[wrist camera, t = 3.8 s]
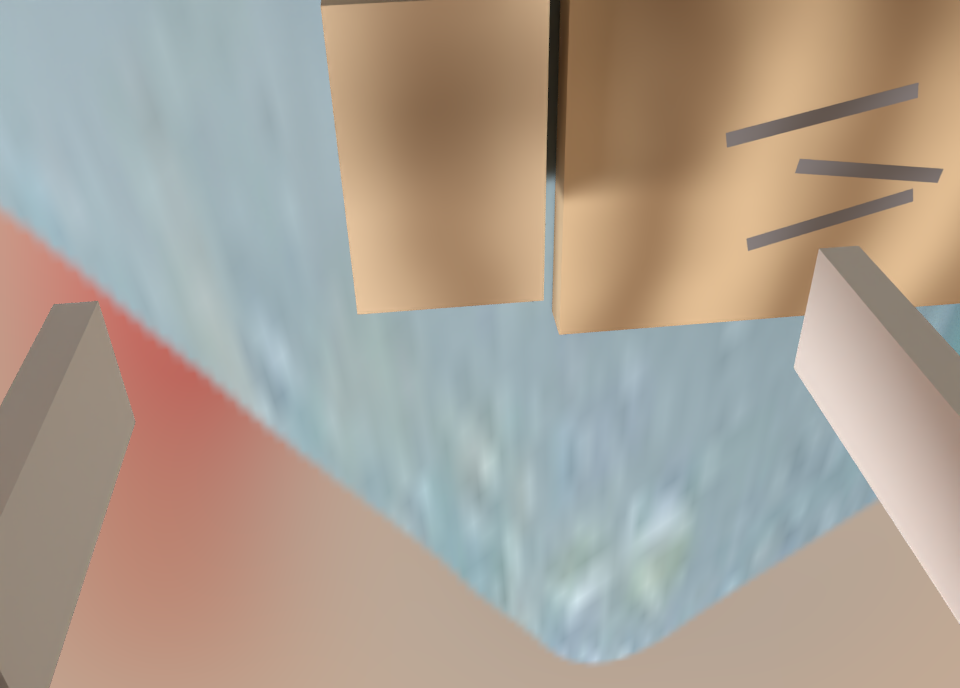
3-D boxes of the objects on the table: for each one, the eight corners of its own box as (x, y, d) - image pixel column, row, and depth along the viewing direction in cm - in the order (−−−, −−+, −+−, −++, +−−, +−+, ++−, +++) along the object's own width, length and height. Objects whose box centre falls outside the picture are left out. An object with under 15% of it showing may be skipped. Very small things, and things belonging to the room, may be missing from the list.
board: (552, 311, 33) (559, 334, 32) (560, -37, 26) (570, -25, 25) (1024, 275, 35) (1048, 296, 33) (1151, -67, 28) (1188, -56, 26)
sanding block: (358, 197, 30) (357, 313, 24) (330, -65, 26) (320, 6, 20) (509, 186, 31) (543, 300, 25) (509, -73, 26) (550, -6, 20)
